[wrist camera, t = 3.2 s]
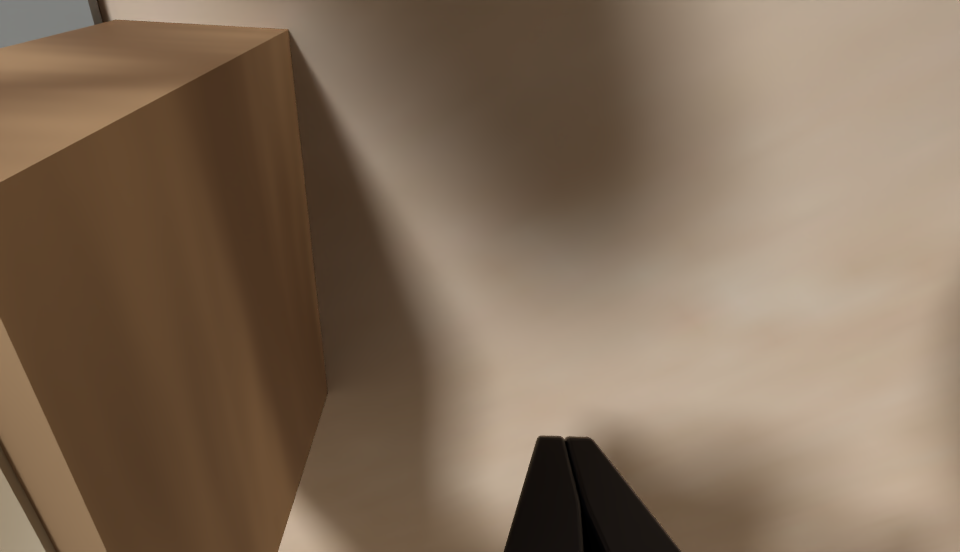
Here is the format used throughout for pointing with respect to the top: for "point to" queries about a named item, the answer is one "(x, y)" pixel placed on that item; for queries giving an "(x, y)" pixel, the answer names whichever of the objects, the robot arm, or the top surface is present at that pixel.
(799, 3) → the top surface
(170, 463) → the walnut slab
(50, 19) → the grey rubber mat
